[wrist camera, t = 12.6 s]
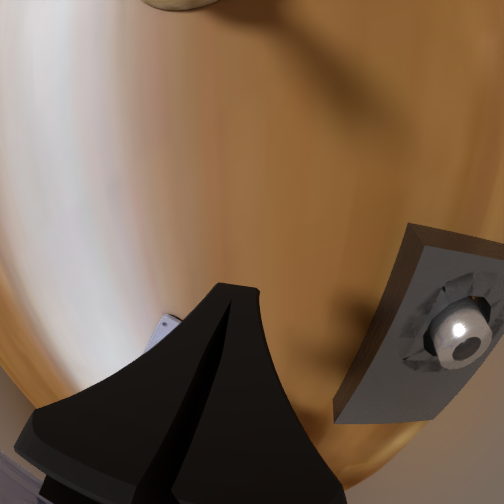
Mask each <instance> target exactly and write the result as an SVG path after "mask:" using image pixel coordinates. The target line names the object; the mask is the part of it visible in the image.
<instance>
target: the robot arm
mask: <svg viewBox="0 0 504 504" xmlns="http://www.w3.org/2000/svg"><path fill="white" fill-rule="evenodd" d="M259 295H260V291H259V290H258V289H257V288H254V287H247V286H240V285H233V284H226V283H217V284H216V285H215V286H214V287H213V288H212V290H211V291H210V292H209V293H208V294H207V295H206V297H205V298H204V299H203V300H202V301H201V302H200V303H199V304H198V305H197V306H196V308H195V309H194V310H193V311H192V312H191V313H190V314H189V315H188V316H187V317H186V318H185V319H184V320H183V321H180V320H178V319H176V318H175V317H173V316H171V315H169V314H164V315H163V317H162V319H161V320H160V322H159V324H158V326H157V328H156V330H155V332H154V334H153V336H152V338H151V340H150V342H149V344H148V346H147V348H146V350H145V352H144V354H143V355H141V356H140V357H139V358H137V359H136V360H135V361H133V362H132V363H130V364H128V365H127V366H125V367H124V368H122V369H121V370H119V371H118V372H116V373H115V374H113V375H111V376H110V377H108V378H106V379H104V380H102V381H100V382H99V383H97V384H95V385H93V386H91V387H89V388H87V389H85V390H83V391H81V392H79V393H77V394H75V395H72V396H70V397H68V398H65V399H63V400H60V401H57V402H55V403H52V404H49V405H47V406H44V407H41V408H38V409H35V410H34V412H33V413H32V414H31V416H30V418H29V419H28V421H27V423H26V424H25V427H24V428H23V430H22V432H21V434H20V436H19V438H18V440H17V441H16V443H15V445H14V449H15V452H16V453H17V454H19V455H20V456H21V457H23V458H24V459H25V460H27V461H28V462H29V463H31V464H32V465H34V466H35V467H37V468H38V469H39V470H41V471H42V472H44V473H45V474H47V475H46V477H45V480H44V481H43V480H41V479H40V478H38V477H37V476H35V475H33V474H32V473H31V472H29V471H28V470H26V469H25V468H23V467H22V466H21V465H19V464H18V463H17V462H15V461H14V460H12V459H11V458H10V457H9V456H7V455H6V454H5V453H4V452H2V451H1V450H0V504H347V501H346V497H345V493H344V489H343V486H342V484H341V483H340V481H339V480H338V479H337V477H336V476H335V475H334V474H333V472H332V471H331V470H330V468H329V467H328V465H327V464H326V463H325V461H324V460H323V458H322V457H321V456H320V454H319V453H318V451H317V450H316V448H315V446H314V445H313V443H312V442H311V440H310V439H309V437H308V435H307V434H306V432H305V430H304V428H303V427H302V425H301V423H300V421H299V419H298V418H297V416H296V414H295V412H294V410H293V408H292V406H291V404H290V402H289V400H288V398H287V396H286V394H285V392H284V389H283V387H282V385H281V382H280V380H279V377H278V375H277V372H276V370H275V367H274V364H273V361H272V358H271V355H270V352H269V349H268V345H267V342H266V338H265V333H264V329H263V325H262V320H261V313H260V305H259ZM166 323H167V324H166Z"/></svg>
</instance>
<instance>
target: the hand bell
mask: <svg viewBox="0 0 504 504" xmlns="http://www.w3.org/2000/svg"><path fill="white" fill-rule="evenodd" d="M141 1H143V2H144V3H146V4H148V5H150V6H152V7H155V8H159V9H164V10H172V11H174V10H187V9H193V8H198V7H202V6H205V5H209V4H211V3H214V2H216V1H218V0H141Z"/></svg>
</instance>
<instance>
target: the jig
mask: <svg viewBox="0 0 504 504" xmlns="http://www.w3.org/2000/svg"><path fill="white" fill-rule="evenodd" d="M467 296H475V299H474V301H475V303H476V305H477V306H478V308H479V310H480V312H481V313H482V315H483V317H484V319H485V320H486V322H487V324H488V326H489V328H490V329H491V331H492V340H491V342H490V345H489V346H488V348H487V349H486V351H485V352H484V353H483V354H482V355H481V356H480V357H479V358H478V359H477V360H475V361H474V362H472V363H471V364H469V365H467V366H465V367H462V368H459V369H446V368H444V367H442V366H441V364H440V361H439V358H438V355H437V353H436V350H435V347H434V344H433V341H432V339H431V336H430V334H429V331H428V330H427V328H428V326H429V324H430V322H431V321H432V319H433V318H434V317H435V316H436V315H438V314H439V313H440V312H441V311H442V310H443V309H444V308H446V307H447V306H448V305H449V304H450V303H453V302H455V301H458V300H460V299H462V298H465V297H467ZM503 334H504V244H502V243H498V242H493V241H489V240H485V239H481V238H477V237H473V236H468V235H464V234H459V233H455V232H450V231H446V230H441V229H436V228H431V227H427V226H422V225H417V224H411V223H408V225H407V228H406V231H405V234H404V237H403V241H402V244H401V247H400V250H399V253H398V255H397V258H396V261H395V264H394V267H393V270H392V272H391V275H390V278H389V280H388V283H387V286H386V288H385V291H384V293H383V296H382V298H381V301H380V303H379V306H378V308H377V310H376V313H375V315H374V317H373V320H372V322H371V324H370V327H369V329H368V331H367V333H366V335H365V338H364V340H363V342H362V344H361V346H360V348H359V350H358V352H357V355H356V357H355V359H354V361H353V363H352V365H351V367H350V369H349V371H348V373H347V374H346V376H345V378H344V380H343V382H342V384H341V386H340V388H339V390H338V391H337V393H336V395H335V397H334V399H333V416H334V424H382V423H400V422H413V421H423V420H432V419H434V418H435V417H436V416H437V415H438V414H439V413H440V412H441V411H442V410H443V409H444V408H445V407H446V406H447V405H448V403H449V402H450V401H451V400H452V399H453V398H454V397H455V396H456V395H457V394H458V392H459V391H460V390H461V389H462V388H463V387H464V386H465V384H466V383H467V382H468V381H469V380H470V378H471V377H472V376H473V375H474V374H475V372H476V371H477V370H478V368H479V367H480V366H481V364H482V363H483V362H484V361H485V359H486V358H487V357H488V355H489V354H490V352H491V351H492V350H493V348H494V347H495V345H496V344H497V343H498V341H499V340H500V338H501V337H502V335H503Z"/></svg>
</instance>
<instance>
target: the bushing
mask: <svg viewBox="0 0 504 504" xmlns="http://www.w3.org/2000/svg"><path fill="white" fill-rule="evenodd" d="M428 331H429V334H430V336H431V339H432V341H433V344H434V347H435V350H436V353H437V355H438V358H439V361H440V364H441V366H442V367H444V368H446V369H459V368H462V367H465V366H467V365H469V364H471V363H472V362H474V361H475V360H477V359H478V358H479V357H480V356H481V355H482V354H483V353H484V352H485V351H486V349H487V348H488V346H489V345H490V342H491V340H492V331H491V329H490V328H489V326H488V324H487V322H486V320H485V319H484V317H483V315H482V313H481V312H480V310H479V308H478V306H477V305H476V303H475V301H474V300H473V298H472V297H471V296H467V297H465V298H462V299H460V300H458V301H455V302H453V303H450V304H449V305H448V306H447V307H446V308H444V309H443V310H442V311H441V312H440V313H439V314H438V315H436V316H435V317H434V318H433V319H432V321H431V322H430V324H429V326H428Z"/></svg>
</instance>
